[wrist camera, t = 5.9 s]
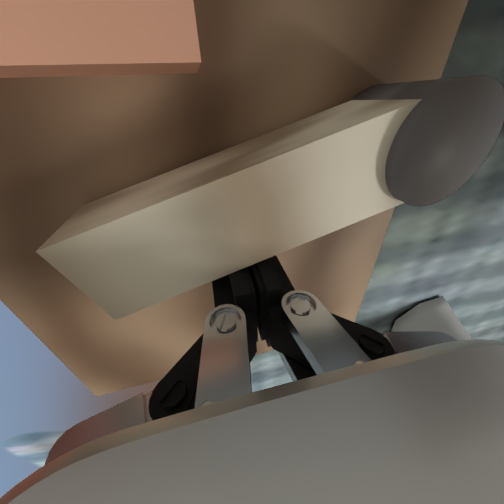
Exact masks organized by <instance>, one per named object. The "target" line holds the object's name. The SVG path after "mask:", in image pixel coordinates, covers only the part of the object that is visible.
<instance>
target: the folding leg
mask: <svg viewBox="0 0 504 504" xmlns="http://www.w3.org/2000/svg"><path fill="white" fill-rule="evenodd" d="M503 122H504V89H503V87H502V85H501V84H500V83H499V81H498V80H496V79H495V78H493V77H490V76H485V75H478V76H467V77H456V78H445V79H434V80H423V81H412V82H401V83H391V84H380V85H375V86H371V87H369V88H367V89H365V90H363V91H362V92H360V93H359V94H358V95H356V96H355V97H354V98H353V99H352V100H351V101H348V102H346V103H343V104H341V105H338V106H335V107H333V108H330V109H328V110H325V111H323V112H320V113H317V114H315V115H312V116H310V117H307V118H305V119H302V120H300V121H297V122H294V123H292V124H289V125H287V126H284V127H282V128H279V129H276V130H274V131H271V132H269V133H266V134H264V135H261V136H259V137H256V138H253V139H251V140H248V141H246V142H243V143H241V144H238V145H235V146H233V147H230V148H228V149H225V150H223V151H220V152H218V153H215V154H212V155H210V156H207V157H205V158H202V159H200V160H197V161H194V162H192V163H189V164H187V165H184V166H182V167H179V168H177V169H174V170H171V171H169V172H166V173H164V174H161V175H159V176H156V177H154V178H151V179H148V180H146V181H143V182H141V183H138V184H136V185H133V186H130V187H128V188H125V189H123V190H120V191H118V192H115V193H113V194H110V195H107V196H105V197H102V198H100V199H97V200H95V201H92V202H89V203H87V204H84V205H82V206H81V207H80V208H79V209H78V210H77V211H76V212H75V213H74V214H73V215H72V216H71V217H70V218H69V219H68V220H67V221H66V222H65V223H64V224H63V225H62V226H61V227H60V228H59V229H58V230H57V231H56V232H55V233H54V234H53V235H52V236H51V237H50V238H49V239H48V240H47V241H46V242H45V243H44V244H43V245H42V246H41V247H40V248H39V249H38V250H37V251H36V252H37V253H38V254H39V255H40V256H41V257H42V258H44V259H45V260H46V261H47V262H48V263H49V264H51V265H52V266H53V267H54V268H55V269H56V270H58V271H59V272H60V273H61V274H62V275H63V276H65V277H66V278H67V279H68V280H69V281H70V282H72V283H73V284H74V285H75V286H76V287H77V288H79V289H80V290H81V291H82V292H83V293H84V294H86V295H87V296H88V297H89V298H90V299H91V300H93V301H94V302H95V303H96V304H97V305H98V306H100V307H101V308H102V309H103V310H104V311H105V312H107V313H108V314H109V315H110V316H111V317H112V318H114V319H115V320H118V319H120V318H123V317H125V316H128V315H130V314H133V313H135V312H137V311H140V310H142V309H145V308H147V307H150V306H152V305H155V304H157V303H160V302H162V301H164V300H167V299H169V298H172V297H174V296H177V295H179V294H182V293H184V292H187V291H189V290H191V289H194V288H196V287H199V286H201V285H204V284H206V283H209V282H211V281H214V280H216V279H219V278H221V277H223V276H226V275H228V274H231V273H233V272H236V271H238V270H241V269H243V268H246V267H248V266H250V265H253V264H255V263H258V262H260V261H263V260H265V259H268V258H270V257H273V256H275V255H277V254H280V253H282V252H285V251H287V250H290V249H292V248H295V247H297V246H300V245H302V244H305V243H307V242H309V241H312V240H314V239H317V238H319V237H322V236H324V235H327V234H329V233H332V232H334V231H336V230H339V229H341V228H344V227H346V226H349V225H351V224H354V223H356V222H359V221H361V220H364V219H366V218H368V217H371V216H373V215H376V214H378V213H381V212H383V211H386V210H388V209H391V208H393V207H395V206H398V205H400V204H403V203H406V204H409V205H412V206H426V205H430V204H433V203H436V202H438V201H440V200H442V199H444V198H446V197H448V196H449V195H451V194H452V193H453V192H455V191H456V190H457V189H459V188H460V187H461V186H462V185H463V184H464V183H465V182H467V181H468V180H469V179H470V178H471V176H472V175H473V174H474V173H475V172H476V171H477V170H478V169H479V167H480V166H481V165H482V163H483V162H484V161H485V159H486V158H487V156H488V155H489V153H490V151H491V150H492V148H493V146H494V144H495V142H496V140H497V138H498V136H499V133H500V131H501V128H502V125H503Z"/></svg>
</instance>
